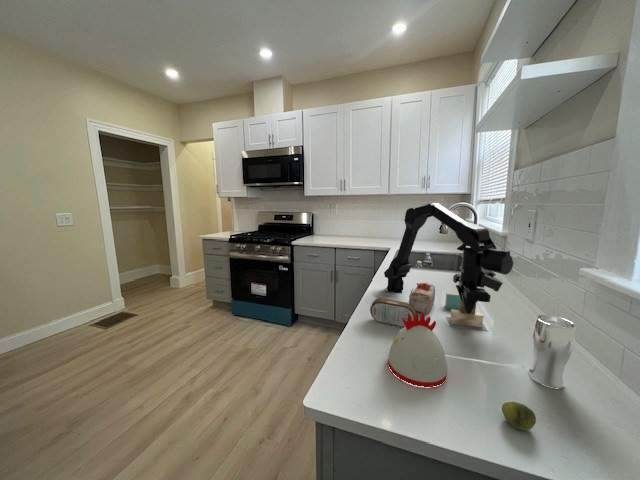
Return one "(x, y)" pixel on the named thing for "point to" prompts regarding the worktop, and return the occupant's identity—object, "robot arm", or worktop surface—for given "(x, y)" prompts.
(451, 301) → the tile
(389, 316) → the tin
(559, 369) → the beer glass
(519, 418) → the lime
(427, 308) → the food item
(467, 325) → the pad
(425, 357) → the kitchen timer
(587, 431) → the worktop surface
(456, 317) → the cream brown stepped block
